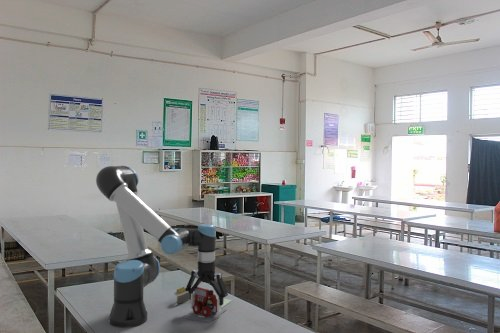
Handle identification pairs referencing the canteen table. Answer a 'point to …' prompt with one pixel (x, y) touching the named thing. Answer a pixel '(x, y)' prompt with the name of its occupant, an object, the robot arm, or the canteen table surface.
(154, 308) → the canteen table surface
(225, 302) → the pad
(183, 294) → the platform
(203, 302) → the toy fire truck
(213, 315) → the tile
